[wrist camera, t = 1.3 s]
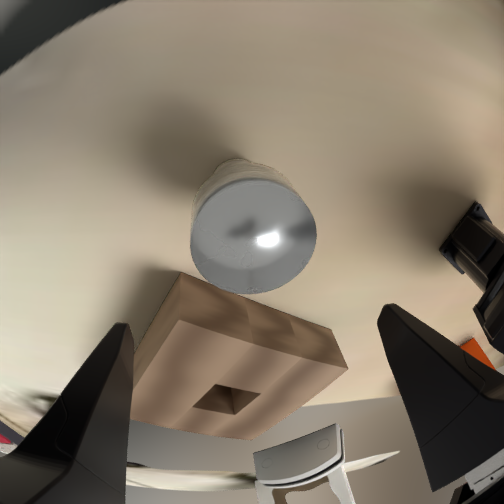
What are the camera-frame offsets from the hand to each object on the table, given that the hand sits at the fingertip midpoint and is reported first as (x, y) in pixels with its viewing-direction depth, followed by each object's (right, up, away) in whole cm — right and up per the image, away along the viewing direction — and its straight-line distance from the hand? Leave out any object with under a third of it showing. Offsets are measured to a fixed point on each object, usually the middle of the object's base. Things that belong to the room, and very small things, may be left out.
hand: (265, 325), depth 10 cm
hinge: (+7, -31, +37) cm, 49 cm away
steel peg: (-1, +7, +10) cm, 12 cm away
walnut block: (-3, -8, +19) cm, 21 cm away
